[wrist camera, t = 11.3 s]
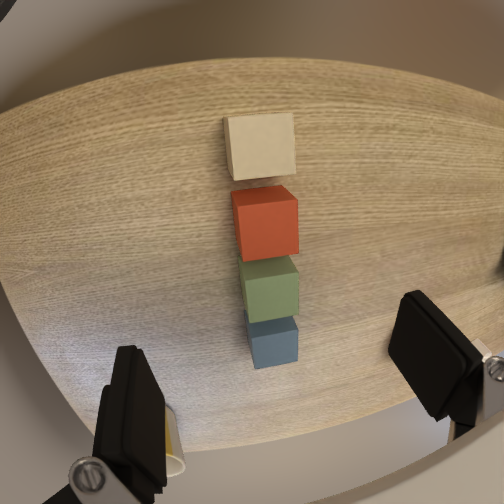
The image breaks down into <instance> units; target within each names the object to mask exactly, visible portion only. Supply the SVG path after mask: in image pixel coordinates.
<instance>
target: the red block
mask: <svg viewBox="0 0 504 504" xmlns="http://www.w3.org/2000/svg"><path fill="white" fill-rule="evenodd" d="M231 197H232V207H233V216H234V225H235V234H236V240H237V244H238V247H239V250H240V254H241V257H242V260H243V262H246V261H252V260H259V259H266V258H272V257H279V256H285V255H292V254H298V253H299V238H298V200H297V199H296V198H295V197H294V196H293V195H292V194H291V193H290V192H289V191H288V190H287V189H286V188H284V187H283V186H282V185H280V186H271V187H262V188H253V189H245V190H237V191H231Z"/></svg>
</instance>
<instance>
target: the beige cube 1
mask: <svg viewBox="0 0 504 504" xmlns="http://www.w3.org/2000/svg"><path fill="white" fill-rule="evenodd" d="M223 125H224V135H225V144H226V154H227V164H228V170H229V172H230V174H231V176H232V178H233V180H234V181H238V180H246V179H255V178H264V177H273V176H283V175H294V174H296V158H295V139H294V123H293V113H285V112H274V113H259V114H246V115H235V116H226V117H223Z"/></svg>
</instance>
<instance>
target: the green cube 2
mask: <svg viewBox="0 0 504 504" xmlns="http://www.w3.org/2000/svg"><path fill="white" fill-rule="evenodd" d="M238 263H239V271H240V280H241V288H242V296H243V300H244V304H245V308H246V312H247V316H248V319H249V323H255V322H261V321H266V320H272V319H277V318H283V317H288V316H293V315H298V314H299V272H298V270H297V269H296V267H295V265H294V264H293V262H292V260H291V259H290V257H289V255H285V256H279V257H272V258H266V259H259V260H252V261H246V262H243V260H242V257H241V256H238Z"/></svg>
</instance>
